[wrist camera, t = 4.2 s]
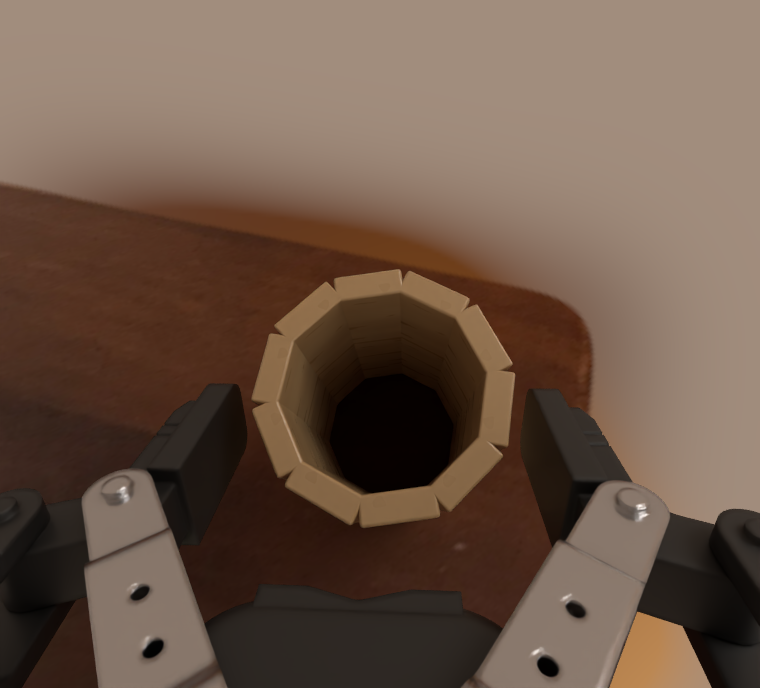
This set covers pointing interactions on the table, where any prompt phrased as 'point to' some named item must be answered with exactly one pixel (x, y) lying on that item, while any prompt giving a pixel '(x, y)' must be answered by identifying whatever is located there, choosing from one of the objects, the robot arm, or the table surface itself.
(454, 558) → the table surface
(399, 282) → the tan hollow cylinder
